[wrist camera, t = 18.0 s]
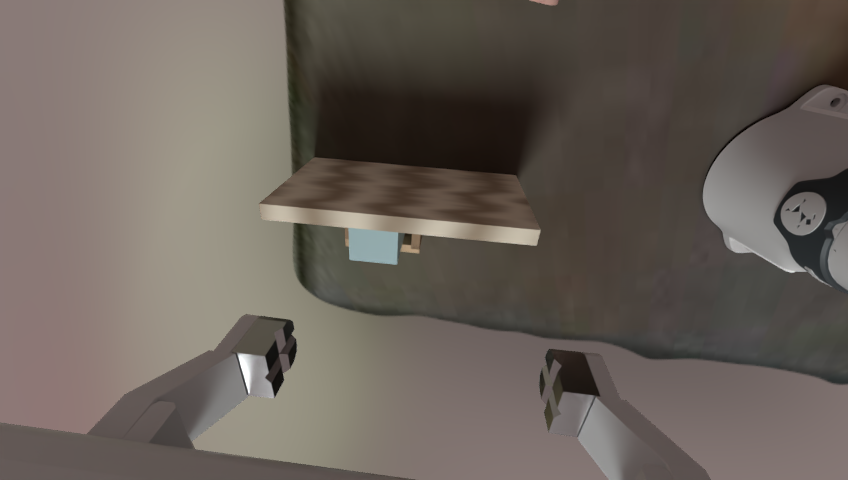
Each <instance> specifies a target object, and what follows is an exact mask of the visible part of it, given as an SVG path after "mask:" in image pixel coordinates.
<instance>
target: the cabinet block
mask: <svg viewBox="0 0 848 480" xmlns="http://www.w3.org/2000/svg"><path fill="white" fill-rule="evenodd" d="M348 231H349V256H350V260H355V261H366V262H376V263H386V264H396V265H397V262H398V259H399V255H400V251H401V247H402V243H403V239H404V235H405V233H398V232H388V231H377V230H367V229H356V228H348Z"/></svg>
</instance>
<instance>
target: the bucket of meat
mask: <svg viewBox="0 0 848 480" xmlns="http://www.w3.org/2000/svg"><path fill="white" fill-rule="evenodd" d="M531 1H535V2H538V3H542V4H547V5H557V4H558V1H559V0H531Z"/></svg>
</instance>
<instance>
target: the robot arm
mask: <svg viewBox="0 0 848 480" xmlns="http://www.w3.org/2000/svg"><path fill="white" fill-rule="evenodd" d="M833 99H834V101H833V103H832V104H831V105H830V103H831V101H832V100H833ZM703 203H704V207H705V210H706V212H707V214H708V216H709V218H710V219H711V220H712V221H713V222H714V223H715V224H716V225H717V226H718V227H719V228H720V229H721V231H722V232H723V237H724V241H725V244H726V246H727V248H729V249H730V250H732V251H734V252H736V253H748V252H754V253H756V254H757V255H759V256H761V257H762V258H764V259H766V260H767V261H769V262H771V263H772V264H774V265H776V266H778V267H779V268H781V269H783V270H785V271H787V272H791V273H793V272H796V271H798V272H807V271H808V273H810V274H811V275H812V276H813V277H815V278H816V279H818V280H819V281H821V282H823V283H825V284H826V285H827V284H828V285H829V286H832V287H834V288H835V289H837V290H839V291H841V292H844V293H847V294H848V91H847V90H844V89H841V88H838V87H834V86H830V85H820V86H817V87H815V88H813V89H812V90H810V91H809V92H807V93H806V94H805V95H803V96H802V97H801V98H800V99H798V100H797V101H796V102H795V103H794V104H792V105H791V106H790V107H789V108H787V109H785V110H783V111H781V112H779V113H777V114H775V115H772V116H770V117H768V118H765V119H763V120H761V121H759V122H758V123H756V124H754V125H752V126H751V127H749V128H748V129H746V130H745V131H743V132H742V133H741V134H740V135H738V136H737V137H736V138H735V139H734V140H732V141H731V142H730V143H729V144H728V145H727V146H726V147H725V148H724V150H723V151H722V152H721V153H720V154H719V156H718V157H717V159H716V160H715V162H714V163H713V165H712V166H711V168H710V170H709V172H708V175H707V177H706V180H705V184H704V189H703ZM293 331H294V325H293V321H291V320H287V319H280V318H273V317H265V316H255V315H248V314H246V315H244V316H242V317H241V318H240V319H239V320H238V322H237V323H236V324H235V325H234V327H233V328H232V329H231V330H230V331H229V333H228V334H227V335H226V336H225V338H224V339H223V340H222V341H221V343H220V344H219V345H218V346H217V348H216V349H215V350H214V351H207V352H205V353H203V354H202V355H200V356H198V357H196V358H194V359H192V360H190V361H188V362H186V363H184V364H182V365H180V366H178V367H177V368H175V369H173V370H171V371H169V372H167V373H165V374H163V375H161V376H160V377H158V378H155V379H154V380H152V381H150V382H148V383H146V384H144V385H142V386H140V387H138V388H136V389H135V390H133V391H131V392H129V393H127V394H125V395H124V396H123V397H122V398H121V399H120V400H119V401H118V402H117V403H116V404H115V405H114V406H113V407H112V408H111V409H110V410H109V411H108V412H107V414H106V415H105V416H104V417H103V418H102V419H101V420H100V421H99V422H98V423H97V424H96V425H95V426H94V427H93V428H92V429H91V430H90V431H89V432H88V433H87V434H79V433H72V432H65V431H58V430H50V429H43V428H36V427H28V426H21V425H14V424H7V423H0V480H414V479H407V478H400V477H392V476H385V475H377V474H371V473H363V472H356V471H348V470H341V469H334V468H327V467H320V466H312V465H305V464H297V463H291V462H283V461H276V460H268V459H261V458H254V457H247V456H240V455H232V454H225V453H218V452H209V451H203V450H196V449H195V448H194V446H193V443H192V441H193V440H194V439H195V438H197V437H198V436H199V435H200V434H202V433H203V432H204V431H206V430H207V429H208V428H209V427H211V426H212V425H213V424H214V423H216V422H217V421H218V420H219V419H221V418H222V417H223V416H224V415H226V414H227V413H228V412H230V411H231V410H232V409H233V408H235V407H236V406H237V405H238V404H240V403H241V402H242V401H243V400H245V399H246V398H247V397H248V396H259V397H268V398H275V396H276V395H277V393H278V391H279V389H280V387H281V385H282V383H283V381H284V376H283V373H284V372H286V371H287V370H289V369H290V368H291V366H292V364H293V362H294V360H295V356H296V352H297V343H296V339H295V338H294V337H293V336H292V335H291V334H292V332H293ZM545 360H546V364H547V365H545V366H544V367H542V369H541V373H540V380H539V388H540V395H541V399H542V400H543V401H544V403H545V404H546V407H545V410H544V415H545V419H546V424H547V429H548V432H549V433H554V434H561V435H566V436H573V437H578V440H579V441H580V443H581V444H582V445H583V447H584V448H585V449H586V450H587V452H588V453H589V454H590V456H591V457H592V458H593V459H594V461H595V462H596V463H597V465H598V466H599V467H600V469H601V470H602V471H603V473H604V474H605V475H606V477H607V478H608V479H609V480H711V479H710V477H709V476H708V474H707V472H706V470H705V469H703V468H702V467H701V466H700V465H699V464H698V463H697V462H695V461H694V460H693V459H692V458H691V457H690V456H689V455H688V454H686V453H685V452H684V451H683V450H682V449H681V448H680V447H678V446H677V445H676V444H675V443H674V442H673V441H672V440H671V439H669V438H668V437H667V436H666V435H665V434H664V433H663V432H661V431H660V430H659V429H658V428H657V427H656V426H655V425H653V424H652V423H651V422H650V421H649V420H648V419H647V418H645V417H644V416H643V415H642V414H641V413H640V412H638V410H636V409H635V408H634V407H633V406H632V405H631V404H630V403H629V402H627V401H626V400H621V399H620V397H619V394H618V392H617V390H616V387H615V385H614V383H613V381H612V379H611V376H610V374H609V372H608V369H607V367H606V365H605V362H604V360H603V358H602V356H601V355H600V354H595V353H585V352H582V353H581V352H575V351H564V350H555V349H549V350H548V351H547V353H546V356H545ZM247 395H248V396H247Z"/></svg>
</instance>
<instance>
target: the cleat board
mask: <svg viewBox="0 0 848 480" xmlns="http://www.w3.org/2000/svg"><path fill="white" fill-rule="evenodd" d="M259 207H260V213H261V219H262V220H272V221H283V222H293V223H304V224H314V225H325V226H335V227H345V240H346V246H349V231H348V228H356V229H367V230H377V231H388V232H398V233H405V235H404V239H403V243H402V247H401V252H411V253H419V250H420V245H421V239H422V235H429V236H440V237H450V238H461V239H471V240H482V241H492V242H503V243H513V244H524V245H534V246H537V242H538V238H539V234H540V228H539V226H538V224H537V221H536V219H535V217H534V215H533V212H532V210H531V208H530V206H529V203H528V201H527V199H526V197H525V194H524V192H523V190H522V188H521V185H520V183H519V181H518V179H517V176H516V175H508V174H497V173H486V172H474V171H463V170H452V169H441V168H430V167H418V166H407V165H396V164H385V163H374V162H362V161H351V160H340V159H329V158H317V157H314V158H313V159H312V160H310V161H309V162H308V163H307V164H306V165H304V166H303V167H302V168H301V169H300V170H298V171H297V172H296V173H295V174H294V175H293V176H291V177H290V178H289V179H288V180H287V181H285V182H284V183H283V184H282V185H281V186H279V187H278V188H277V189H276V190H275V191H273V192H272V193H271V194H270V195H269V196H268V197H266V198H265V199H264V200H263V201H262V202H260V203H259Z"/></svg>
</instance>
